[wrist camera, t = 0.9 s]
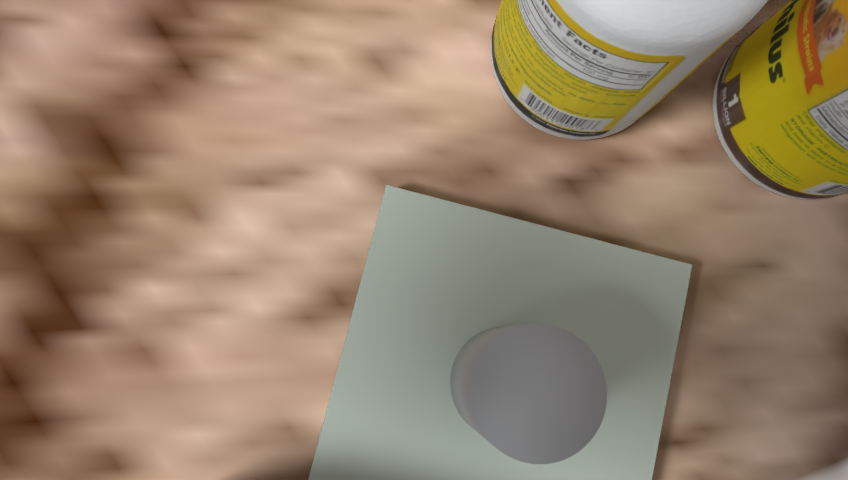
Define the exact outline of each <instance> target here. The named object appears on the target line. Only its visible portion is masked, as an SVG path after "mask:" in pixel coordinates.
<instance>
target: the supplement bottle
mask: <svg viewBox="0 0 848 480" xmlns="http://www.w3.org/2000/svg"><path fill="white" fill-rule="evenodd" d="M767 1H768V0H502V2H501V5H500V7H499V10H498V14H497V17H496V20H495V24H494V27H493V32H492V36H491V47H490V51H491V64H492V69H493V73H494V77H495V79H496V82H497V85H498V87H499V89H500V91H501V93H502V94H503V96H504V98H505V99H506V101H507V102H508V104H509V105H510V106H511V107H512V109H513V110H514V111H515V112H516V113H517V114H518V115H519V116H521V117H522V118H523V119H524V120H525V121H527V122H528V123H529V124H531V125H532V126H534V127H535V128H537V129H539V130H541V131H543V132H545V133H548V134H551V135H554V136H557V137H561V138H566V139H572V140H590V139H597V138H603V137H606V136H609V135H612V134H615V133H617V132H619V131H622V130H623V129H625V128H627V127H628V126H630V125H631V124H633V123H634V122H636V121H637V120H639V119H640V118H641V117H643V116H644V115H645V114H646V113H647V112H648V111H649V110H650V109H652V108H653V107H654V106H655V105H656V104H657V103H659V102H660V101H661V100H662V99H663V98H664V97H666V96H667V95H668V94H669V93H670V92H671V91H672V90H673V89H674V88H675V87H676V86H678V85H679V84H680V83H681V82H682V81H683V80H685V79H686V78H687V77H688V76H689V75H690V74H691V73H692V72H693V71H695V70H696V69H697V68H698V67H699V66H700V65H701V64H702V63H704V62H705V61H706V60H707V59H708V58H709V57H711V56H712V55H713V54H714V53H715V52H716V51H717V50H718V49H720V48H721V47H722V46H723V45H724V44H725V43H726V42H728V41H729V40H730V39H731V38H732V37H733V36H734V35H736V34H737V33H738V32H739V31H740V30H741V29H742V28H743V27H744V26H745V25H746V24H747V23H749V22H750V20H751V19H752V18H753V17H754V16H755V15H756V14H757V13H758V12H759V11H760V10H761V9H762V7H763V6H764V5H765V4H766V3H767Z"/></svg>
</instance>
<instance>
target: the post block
mask: <svg viewBox="0 0 848 480" xmlns="http://www.w3.org/2000/svg"><path fill="white" fill-rule="evenodd" d="M691 269H692V264H688V263H684V262H680V261H676V260H672V259H669V258H665V257H661V256H657V255H653V254H649V253H646V252H642V251H638V250H634V249H630V248H626V247H623V246H619V245H615V244H611V243H607V242H603V241H600V240H596V239H592V238H588V237H584V236H581V235H577V234H573V233H569V232H565V231H561V230H558V229H554V228H550V227H546V226H542V225H538V224H535V223H531V222H527V221H523V220H519V219H515V218H512V217H508V216H504V215H500V214H496V213H492V212H489V211H485V210H481V209H477V208H473V207H469V206H466V205H462V204H458V203H454V202H450V201H446V200H443V199H439V198H435V197H431V196H427V195H423V194H420V193H416V192H412V191H408V190H404V189H401V188H397V187H393V186H389V185H386V188H385V192H384V196H383V199H382V203H381V207H380V211H379V214H378V218H377V222H376V226H375V230H374V233H373V237H372V241H371V245H370V248H369V252H368V256H367V260H366V263H365V267H364V271H363V275H362V279H361V282H360V286H359V290H358V294H357V297H356V301H355V305H354V309H353V312H352V316H351V320H350V324H349V328H348V331H347V335H346V339H345V343H344V346H343V350H342V354H341V358H340V361H339V365H338V369H337V373H336V377H335V380H334V384H333V388H332V392H331V395H330V399H329V403H328V407H327V410H326V414H325V418H324V422H323V425H322V429H321V433H320V437H319V441H318V444H317V448H316V452H315V456H314V459H313V463H312V467H311V471H310V474H309V478H308V480H652V476H653V471H654V465H655V460H656V455H657V449H658V444H659V439H660V434H661V428H662V423H663V418H664V412H665V407H666V402H667V397H668V391H669V386H670V381H671V375H672V370H673V365H674V359H675V354H676V349H677V344H678V338H679V333H680V328H681V322H682V317H683V312H684V306H685V301H686V296H687V291H688V285H689V280H690V275H691Z"/></svg>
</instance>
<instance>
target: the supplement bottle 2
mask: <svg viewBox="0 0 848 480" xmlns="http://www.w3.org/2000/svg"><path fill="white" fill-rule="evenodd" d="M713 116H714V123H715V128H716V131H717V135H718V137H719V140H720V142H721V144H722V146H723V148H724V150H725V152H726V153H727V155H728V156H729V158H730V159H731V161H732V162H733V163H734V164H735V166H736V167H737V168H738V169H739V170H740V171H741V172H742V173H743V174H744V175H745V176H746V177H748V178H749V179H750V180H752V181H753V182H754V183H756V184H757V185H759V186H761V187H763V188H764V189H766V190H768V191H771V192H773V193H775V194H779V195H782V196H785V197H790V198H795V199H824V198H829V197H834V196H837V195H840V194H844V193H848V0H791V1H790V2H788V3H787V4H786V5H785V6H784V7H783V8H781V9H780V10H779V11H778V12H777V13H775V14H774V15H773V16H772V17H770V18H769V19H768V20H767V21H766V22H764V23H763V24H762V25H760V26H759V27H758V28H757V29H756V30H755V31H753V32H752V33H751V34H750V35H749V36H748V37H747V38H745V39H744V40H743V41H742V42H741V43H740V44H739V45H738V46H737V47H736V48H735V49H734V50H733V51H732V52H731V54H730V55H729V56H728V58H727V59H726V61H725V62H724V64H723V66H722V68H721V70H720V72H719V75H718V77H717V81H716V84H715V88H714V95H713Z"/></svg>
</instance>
